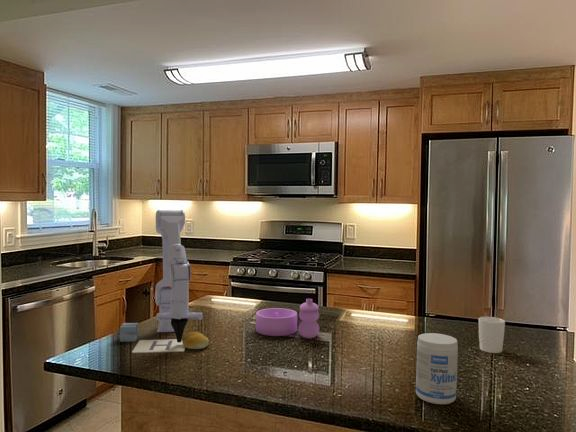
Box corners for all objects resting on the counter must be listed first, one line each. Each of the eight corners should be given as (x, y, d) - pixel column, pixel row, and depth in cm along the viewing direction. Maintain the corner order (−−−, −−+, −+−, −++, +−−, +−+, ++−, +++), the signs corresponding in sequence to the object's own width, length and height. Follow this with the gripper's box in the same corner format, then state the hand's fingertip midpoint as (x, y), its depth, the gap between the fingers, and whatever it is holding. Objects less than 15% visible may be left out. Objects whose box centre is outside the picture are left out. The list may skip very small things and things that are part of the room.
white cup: (483, 344, 152) (484, 315, 151) (507, 350, 146) (508, 319, 146) (473, 349, 146) (474, 319, 146) (498, 355, 140) (499, 324, 140)
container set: (247, 331, 163) (247, 296, 163) (270, 322, 177) (270, 289, 176) (307, 343, 151) (308, 304, 150) (327, 332, 164) (328, 296, 163)
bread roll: (188, 351, 140) (189, 338, 140) (179, 343, 148) (179, 331, 148) (213, 347, 145) (213, 335, 145) (202, 339, 152) (203, 328, 152)
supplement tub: (434, 408, 104) (435, 346, 103) (407, 392, 112) (408, 334, 112) (465, 401, 108) (466, 341, 107) (437, 386, 116) (438, 330, 116)
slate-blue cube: (123, 337, 155) (123, 323, 155) (138, 337, 156) (138, 322, 155) (119, 341, 150) (119, 327, 150) (135, 341, 151) (135, 326, 151)
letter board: (139, 341, 151) (139, 340, 151) (188, 339, 153) (188, 338, 153) (131, 353, 139) (131, 352, 139) (184, 351, 141) (184, 350, 141)
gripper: (154, 303, 141) (154, 345, 142) (201, 302, 143) (201, 344, 143) (158, 298, 148) (158, 339, 149) (202, 297, 150) (202, 337, 150)
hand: (179, 341), depth 147 cm, fingers closed
